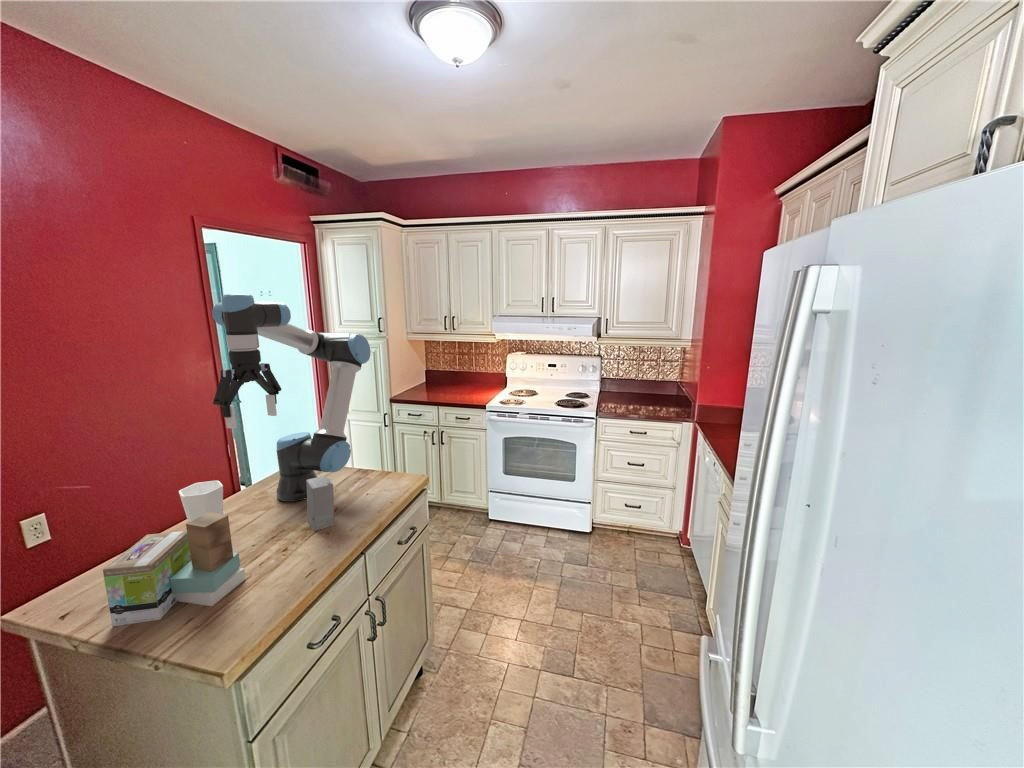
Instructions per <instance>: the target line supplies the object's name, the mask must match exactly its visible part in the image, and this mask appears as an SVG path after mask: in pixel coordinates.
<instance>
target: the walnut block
mask: <svg viewBox="0 0 1024 768" xmlns="http://www.w3.org/2000/svg"><path fill="white" fill-rule="evenodd" d="M185 528H186V531H187V535H188V541H189V548H190V555H191V561H192V568H195V569H200V570H205V571H209V572H212V571H213V570H215V569H217V568H218V567H220V566H221V565H223V564H224V563H226V562H228V561H229V560H231V559H232V558H234V557H233V553H234V550H233V544H232V536H231V527H230V521H229V515H228V514H224V513H223V514H218V513H212V512H209V513H207V514H205V515H203V516H201V517H199V518H197V519H195V520H192V521H190V522H188V521H187V522H186V523H185Z"/></svg>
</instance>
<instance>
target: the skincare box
mask: <svg viewBox="0 0 1024 768" xmlns="http://www.w3.org/2000/svg"><path fill="white" fill-rule="evenodd" d="M306 483H307V498H306V507H307V508H306V509H307V523H308V525H309V524H310V525H309V526H311V527H312V528H311V527H310V528H311V529H312V531H314V532H317V530H318V531H321V530H323V529H322V528H324V529H326V528H325V527H327V528H329V527H332V526H334V525H335V504H334V500H335V499H334V484H333V482H332V481H331V479H330V478H329V477H328V476H327V475H323V476H317V478H312V479H308V480H306ZM333 524H334V525H333ZM331 525H332V526H331ZM328 526H329V527H328ZM320 529H321V530H320Z"/></svg>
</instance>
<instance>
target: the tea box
mask: <svg viewBox="0 0 1024 768" xmlns="http://www.w3.org/2000/svg"><path fill="white" fill-rule="evenodd" d="M190 561H191V555H190V548H189V541H188V535H187V530H183V531H182V530H181V531H170V532H169V531H168V532H161V533H160V532H159V533H152V534H151V533H149V534H146V535H144V536H143V537H142V538H141V539H139V540H138V541H137V542H136V543H134V545H132V546H131V547H130V548H128V549H127V550H126V551H125V552H123V553H122V554H120V556H118V557H117V558H115V559H114V560H113V561H112V562H111V563H110V564H108V565H107V566H106V567H104V568H103V569H102V572H103V573H102V574H103V575H102V576H103V580H104V585H105V592H106V596H107V602H108V603H107V604H108V609H109V613H110V614H109V615H110V618H111V619H110V620H111V625H112V627H117V626H125V624H126V625H131V624H139V623H145V622H150V621H151V622H152V621H153V622H154V621H158V620H162V618H163V617H164V616H165V615H167V613H168V611H169V610H171V607H173V606H174V605H175V604H176V603H177V602H178V601H177V597H176V593H174V594H172V589H171V584H170V578H171V577H172V576H174V575H175V574H176V573H177V572H178V571H180V570H181V569H182V568H183V567H184V566H185V565H187V564H188V563H189V562H190Z"/></svg>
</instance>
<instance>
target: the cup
mask: <svg viewBox="0 0 1024 768" xmlns="http://www.w3.org/2000/svg"><path fill="white" fill-rule="evenodd" d="M178 494H179V497H180V500H181V503H182V507H183V510H184V513H185V516H186V519H187V523H188V522H190V521H192V520H195V519H197V518H199V517H201V516H203V515H205V514H207V513H209V512H212V513H218V514H224V485H223V484H222V482H221V481H220V480H210V481H209V480H208V481H201V482H199V481H198V482H195V483H192V484H191V485H188V486H186V487H183V488H181V489H180V490H178Z"/></svg>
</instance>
